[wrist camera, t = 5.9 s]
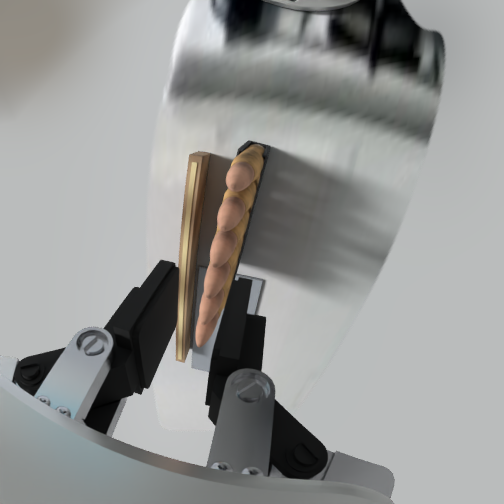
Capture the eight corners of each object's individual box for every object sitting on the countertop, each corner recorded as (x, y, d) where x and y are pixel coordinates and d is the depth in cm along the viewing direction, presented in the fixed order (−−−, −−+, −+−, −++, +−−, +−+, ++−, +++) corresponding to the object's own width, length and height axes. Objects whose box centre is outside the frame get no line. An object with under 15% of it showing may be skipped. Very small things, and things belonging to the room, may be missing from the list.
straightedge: (198, 151, 21) (189, 154, 19) (210, 153, 21) (202, 156, 19) (181, 345, 31) (175, 360, 29) (189, 347, 31) (184, 363, 29)
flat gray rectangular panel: (200, 266, 26) (199, 267, 26) (262, 279, 26) (262, 281, 26) (192, 366, 33) (191, 367, 32) (238, 376, 33) (238, 378, 32)
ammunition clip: (239, 262, 25) (212, 361, 15) (219, 256, 25) (181, 352, 15) (270, 146, 21) (262, 168, 10) (247, 140, 21) (214, 157, 10)
